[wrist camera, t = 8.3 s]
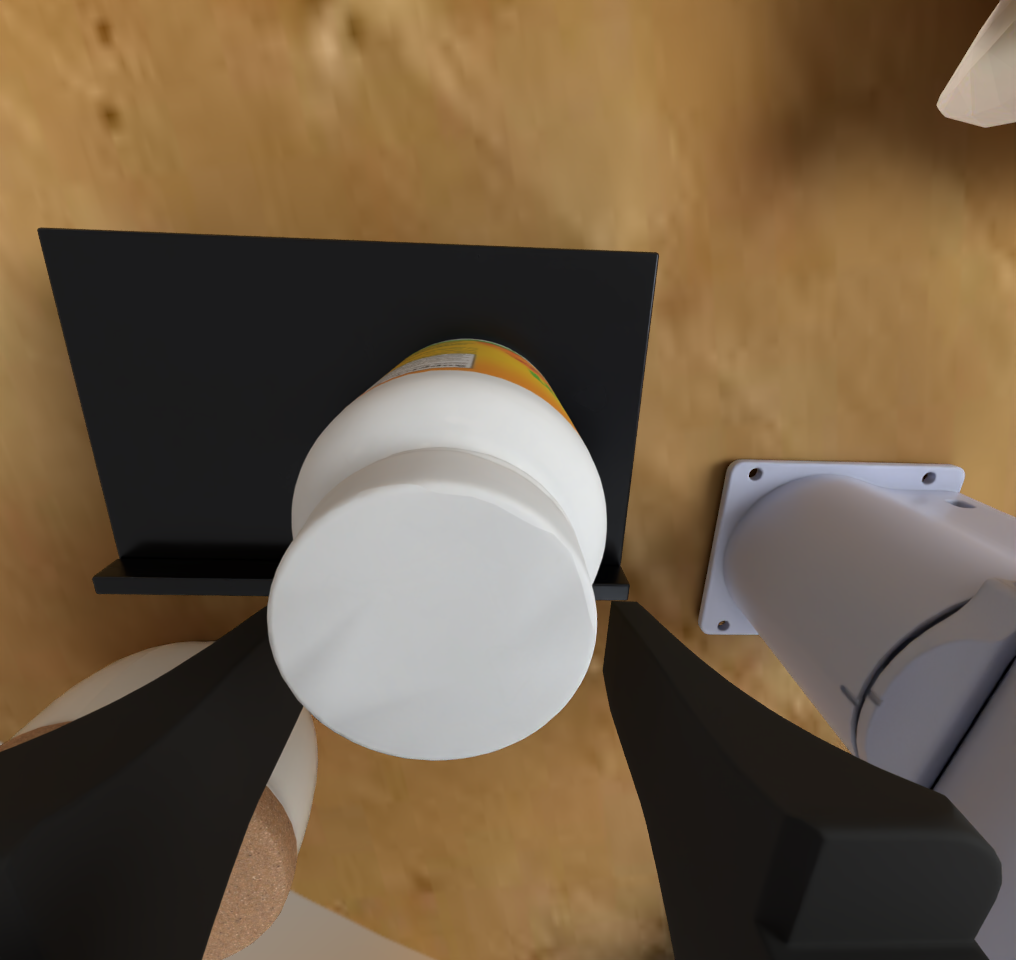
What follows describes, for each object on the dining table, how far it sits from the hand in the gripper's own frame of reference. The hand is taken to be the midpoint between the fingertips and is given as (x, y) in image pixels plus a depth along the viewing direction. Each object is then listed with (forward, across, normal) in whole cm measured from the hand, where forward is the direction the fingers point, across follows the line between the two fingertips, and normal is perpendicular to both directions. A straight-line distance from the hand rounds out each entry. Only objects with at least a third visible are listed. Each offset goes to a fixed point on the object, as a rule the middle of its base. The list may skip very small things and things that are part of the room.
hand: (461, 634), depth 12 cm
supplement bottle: (+5, 0, -4) cm, 6 cm away
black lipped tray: (+9, +3, -4) cm, 10 cm away
